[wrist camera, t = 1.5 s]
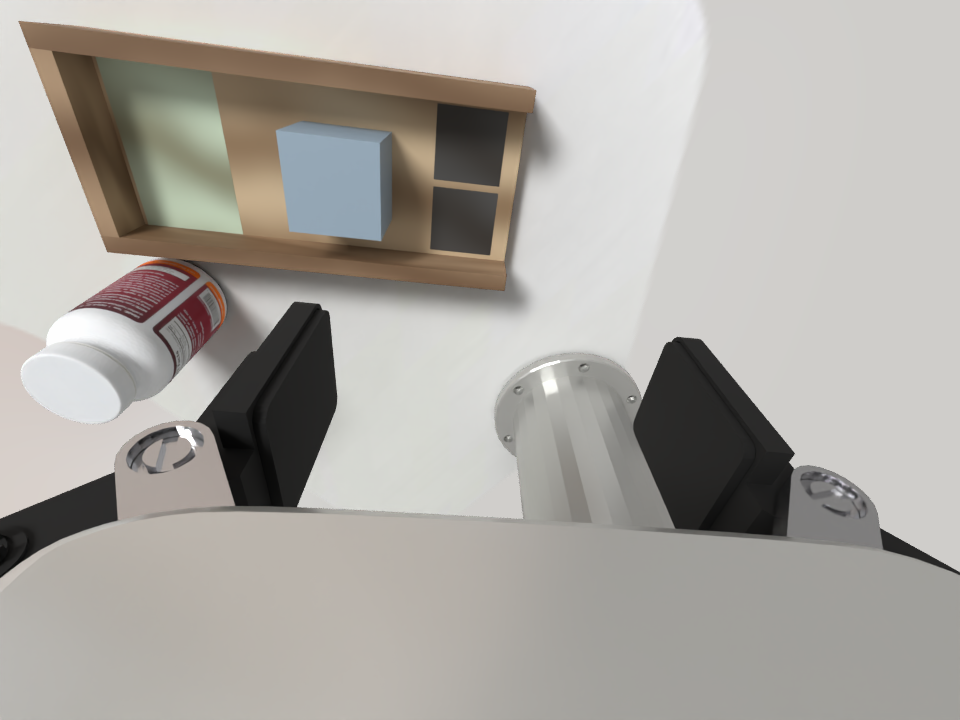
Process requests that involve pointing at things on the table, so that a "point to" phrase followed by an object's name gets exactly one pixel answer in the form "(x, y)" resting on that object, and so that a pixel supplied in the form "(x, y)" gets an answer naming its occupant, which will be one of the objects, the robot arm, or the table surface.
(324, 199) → the block
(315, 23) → the table surface
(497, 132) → the box
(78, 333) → the pill bottle
